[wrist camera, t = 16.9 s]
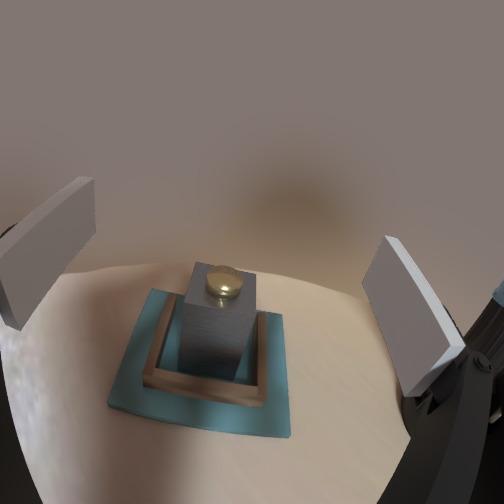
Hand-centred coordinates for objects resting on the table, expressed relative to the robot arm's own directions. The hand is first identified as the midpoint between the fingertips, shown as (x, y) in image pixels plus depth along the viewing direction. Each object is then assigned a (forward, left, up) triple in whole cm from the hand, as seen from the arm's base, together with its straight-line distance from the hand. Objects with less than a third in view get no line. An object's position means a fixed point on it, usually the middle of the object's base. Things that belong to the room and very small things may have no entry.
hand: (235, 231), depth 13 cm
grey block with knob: (-5, -8, -21) cm, 23 cm away
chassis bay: (-5, -8, -22) cm, 24 cm away
